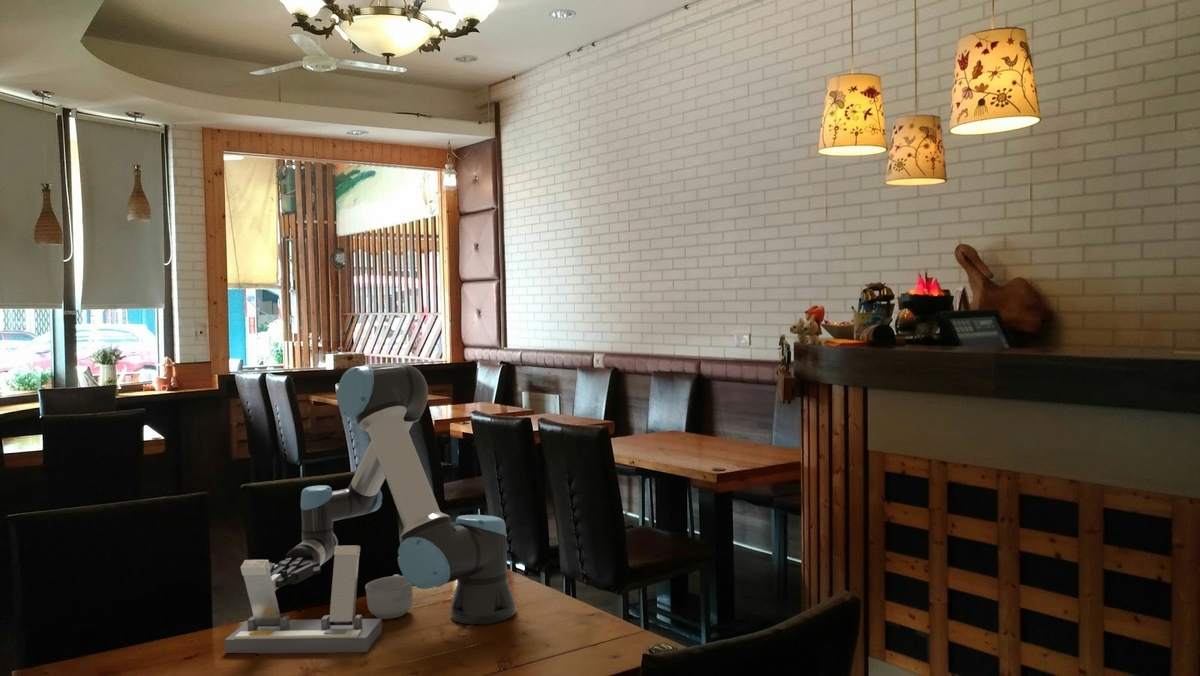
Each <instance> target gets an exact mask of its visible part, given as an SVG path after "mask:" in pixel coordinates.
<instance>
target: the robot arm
mask: <svg viewBox="0 0 1200 676" xmlns="http://www.w3.org/2000/svg"><path fill="white" fill-rule="evenodd" d="M428 396H429V388H428V384H427V381H426V379H425V376H424V375H423V373H422V372H421V371H420V370H419V369H418V368H417V367H414V366H413V365H411V364H408V363H405V362H397V363H387V364H373V365H372V364H370V365H368V364H363V365H359V366H353V367H351V368H349V369H347V370H346V371H345V372H344V373H343V374H342V376H341V378H340V380H339V383H338V388H337V403H338V406H339V410H340V411H341V413H342V414H343V415H345V416H346V417H348V418H352V419H353V418H355V420H356V423H357V426H358V428H359V430H362V431H364V432H366V433H367V434H368V437H369V438H370V442H369V445H368V447H367V448H366V450H365V452H364V454H363V457H362V459H361V461H360V463H359V465H358V467H357V468H356V471H355V474H354V476H353V477H352V480H351V482H350V484H349V486H348V487H347V488H344V489H343V488H342V489H339V490H332V487H331V486H329V485H322V484H321V485H312V486H306V487H305V488H303V489H302V491H301V493H300V494H301V495H300V511H301V514H300V515H301V542H300V543H299V544H297V545H296V546H294V547H293V548H292V549H290V550H289V551H288V552H287V554H286V555H285V556H284V558H283V560H281V561H279V562H277V564H275V563H272V562H270V561H269V565H270V568H269V569H270V574H271V578H272V582H273V586H274V591H275V592H276V591H277V590H278V589H279V588H282V587H283V586H287V585H289V584H291V585H296V584H299V583H300V582H302V581H304V580H307V579H308V578H310V577H312V576H314V575H315V576H316V575H318V574H321V566H322V565H324V564H325V563H326V562H327V561H329V560H330V559H332V557H334V549H335V546H339V541H338V538H337V536H336V534H335V533H334V522H335V521H336V522H337V521H340V520H345V519H350V518H355V517H359V516H364V515H368V514H370V513H373V512H376V511H378V510H379V509H380V508H381V506H382V504H383V502H382V501H383V493H382V491H381V487H382V485H383V484H384V481H385V480H386V482H387V486H388V489H389V490H390V493H391V495H392V498H393V501H394V504H395V506H396V510H397V512H398V514H399V517H400V520H401V523H402V525H403V529H402V531H401V534H400V539H401V541H402V542H401V543H400V544H399V547H398V550H397V554H398V557H397V563H398V567H399V570H400V571H401V574H402V576H404V577H405V578H406V579H407V581H408V582H410V583H411V584H412V586H414V587H416V588H418V589H422V590H428V589H432V588H439V587H443V586H444V585H446V584H448V583H452V582H454V581H457V583H456V586H455V590H454V595H453V597H452V600H451V603H450V619H452V620H453V621H454V622H457V623H460V624H463V625H464V624H466V625H475V624H479V625H489V624H490V625H491V624H496V623H495V622H497V623H500V621H501V622H504V621H507V620H508V618H509V619H511V618H513V617H514V616H515V615H514V614H516V612H517V611H516V610H517V609H516V601H515V599H514V595H513V592H512V589H511V587H510V583H509V581H508V548H507V547H508V546H507V545H508V543H507V542H508V541H507V537H508V534H507V525H506V522H505V520H504V519H503V518H501V517H498V516H494V515H487V514H486V515H483V514H465V515H459V516H457V517H456V518H455V522H454V524H455V525H454V524H453V520H452V519H451V516H450V515H448V514H446V513H443V512H441V510H440V508H439V505H438V502H437V500H436V497H435V495H434V492H433V489H432V487H431V485H430V482H429V480H428V477H427V474H426V472H425V470H424V468H423V465H422V462H421V460H420V456H419V455H418V452H417V449H416V447H415V445H414V442H413V439H412V437H411V434H410V430H411V428H412V426H413V424H414V423H416V422H419V420H420V419H421V417H422V416H423V413H424V412H425V409H426V407H427V404H428V398H429V397H428ZM513 615H514V616H513ZM510 617H511V618H510ZM506 619H507V620H506Z"/></svg>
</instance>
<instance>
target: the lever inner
mask: <svg viewBox="0 0 1200 676" xmlns="http://www.w3.org/2000/svg"><path fill="white" fill-rule="evenodd" d="M360 553H361V546H360V545H357V544H356V545H338V546H335V549H334V554H333V557H334V558H333V569H332V571H333V572H332V584H331V595H330V596H331V597H330V604H329V605H330V608H329V615H330V618H329V622H330V625H331V626H336V625H353V618H354V617H355V616H356V615H355V614H356V603H357V592H358V589H357V588H358V577H359V575H358V574H359V565H360V564H359V563H360V561H359V560H360V555H361V554H360Z"/></svg>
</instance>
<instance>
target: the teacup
mask: <svg viewBox="0 0 1200 676" xmlns="http://www.w3.org/2000/svg"><path fill="white" fill-rule="evenodd" d="M364 586H365V587H364V588H365V594H366V595H365V596H366V604H367V608H368V611H369V612H370V614H371V615H373V616H375V617H376V619H382V620H390V619H396V618H400V617H401V616H404V615H405V614H406V613H407V612H408V611H409V610H410V608H412V606H413V599H414V597H413V585H412V584H411V583H410V582H408V581H407V579H406V578H405V577H404V575H400V574H393V575H392V576H391V575H390V576H384V577H380V578H377V579H374V580H371V581H369V582H367V583H366V584H365V585H364Z"/></svg>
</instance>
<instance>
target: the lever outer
mask: <svg viewBox="0 0 1200 676" xmlns="http://www.w3.org/2000/svg"><path fill="white" fill-rule="evenodd" d="M269 562H270V561H269V559H244V560H243V562H242V564H241V566H240V571H241V575H242V576H243V579H244V583H245V588H246V591H247V595H248V600H249V603H250V607H251V611H252V616H254V620H255V624H256V625H257V626H258V627H261V626H280V619H281V618H282V617H281V613H280V608H279V603H278V599H277V596H276V591H274V586H273V582H272V578H271V574H270V569H269V568H270V565H269Z"/></svg>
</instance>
